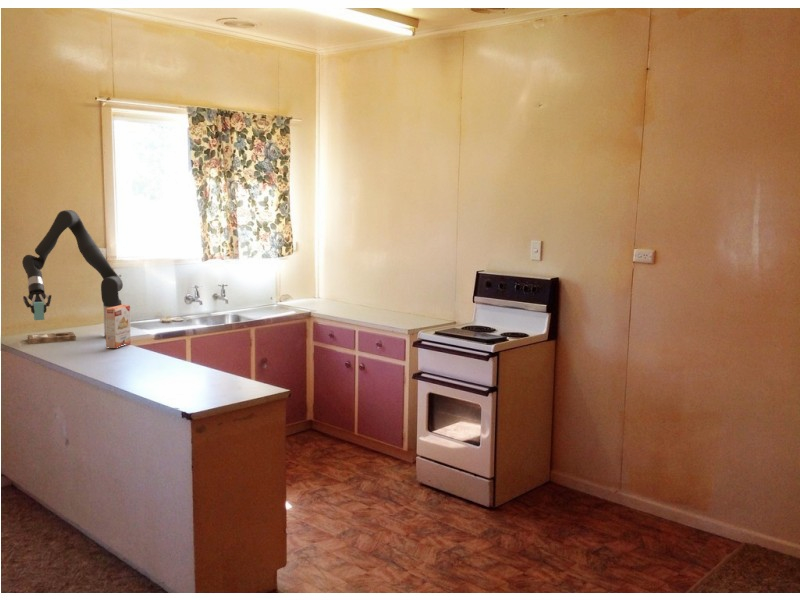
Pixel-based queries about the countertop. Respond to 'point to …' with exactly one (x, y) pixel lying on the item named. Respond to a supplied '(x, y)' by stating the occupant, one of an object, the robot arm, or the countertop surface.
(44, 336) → the puzzle board
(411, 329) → the countertop surface
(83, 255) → the robot arm
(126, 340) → the cracker box
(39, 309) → the teal block
